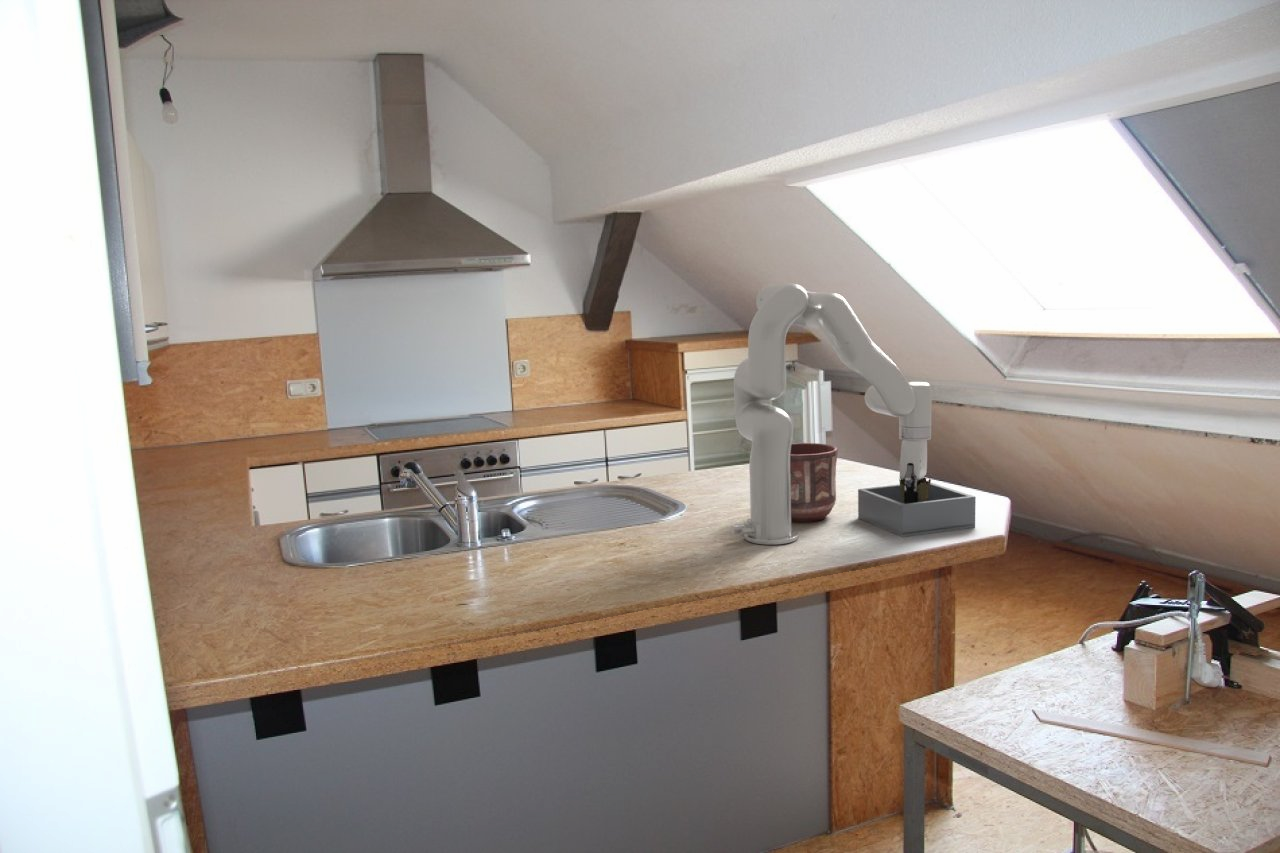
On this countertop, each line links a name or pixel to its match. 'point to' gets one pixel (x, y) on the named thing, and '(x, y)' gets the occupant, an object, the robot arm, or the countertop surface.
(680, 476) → the countertop surface
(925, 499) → the brown patterned lamp shade
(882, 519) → the crate
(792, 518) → the pottery
